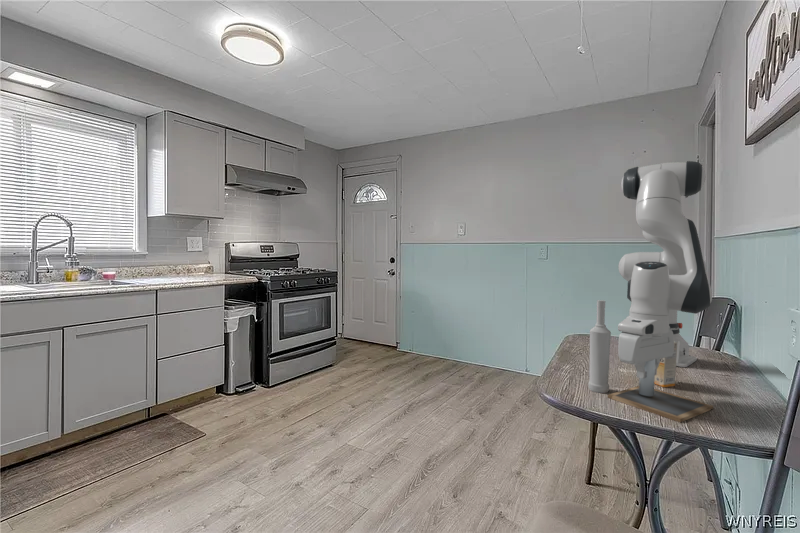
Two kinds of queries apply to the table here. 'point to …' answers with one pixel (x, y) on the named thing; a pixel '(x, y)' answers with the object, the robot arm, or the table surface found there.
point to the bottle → (599, 352)
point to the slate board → (662, 403)
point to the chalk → (648, 380)
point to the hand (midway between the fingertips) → (646, 376)
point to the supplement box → (667, 370)
